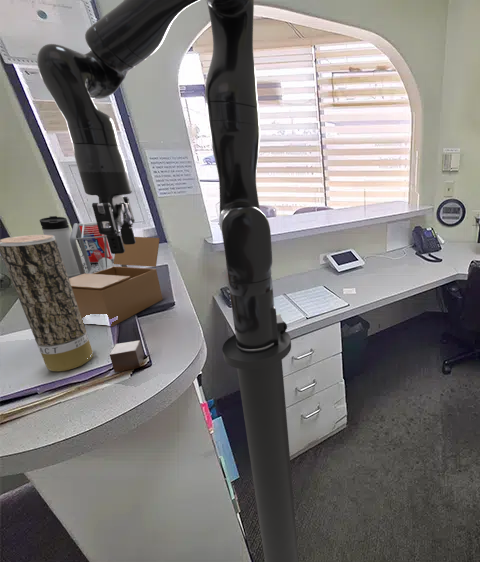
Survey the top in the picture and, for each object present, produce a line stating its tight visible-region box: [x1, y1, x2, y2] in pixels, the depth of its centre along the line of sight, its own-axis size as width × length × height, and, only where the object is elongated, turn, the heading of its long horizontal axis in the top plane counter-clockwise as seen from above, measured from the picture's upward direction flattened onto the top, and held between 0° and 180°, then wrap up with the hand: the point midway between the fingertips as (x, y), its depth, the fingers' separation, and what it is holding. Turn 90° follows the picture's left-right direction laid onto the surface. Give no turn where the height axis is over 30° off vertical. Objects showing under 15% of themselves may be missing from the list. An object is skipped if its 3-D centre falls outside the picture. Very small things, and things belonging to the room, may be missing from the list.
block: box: [109, 339, 145, 373], centre depth 61 cm, size 4×4×4 cm
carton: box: [69, 265, 164, 328], centre depth 81 cm, size 17×13×10 cm
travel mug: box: [39, 215, 80, 278], centre depth 102 cm, size 6×7×20 cm
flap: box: [113, 236, 161, 268], centre depth 88 cm, size 8×13×1 cm
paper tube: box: [0, 234, 94, 372], centre depth 57 cm, size 7×7×25 cm
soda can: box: [79, 221, 114, 264], centre depth 119 cm, size 8×8×15 cm
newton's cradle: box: [70, 222, 128, 275], centre depth 99 cm, size 30×10×18 cm, turn 41°
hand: (124, 248), depth 67 cm, fingers open, 8 cm apart
